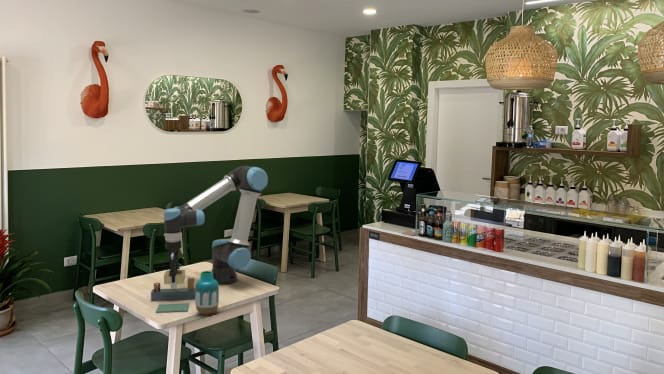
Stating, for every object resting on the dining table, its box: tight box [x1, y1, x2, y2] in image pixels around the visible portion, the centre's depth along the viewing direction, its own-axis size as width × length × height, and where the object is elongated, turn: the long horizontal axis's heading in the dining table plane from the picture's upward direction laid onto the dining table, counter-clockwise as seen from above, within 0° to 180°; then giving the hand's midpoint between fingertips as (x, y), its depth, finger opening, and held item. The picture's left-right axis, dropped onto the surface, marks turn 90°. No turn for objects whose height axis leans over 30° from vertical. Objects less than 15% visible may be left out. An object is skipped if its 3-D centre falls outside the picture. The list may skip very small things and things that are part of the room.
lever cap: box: [163, 269, 186, 286], centre depth 259 cm, size 9×8×5 cm
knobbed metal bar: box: [150, 277, 195, 302], centre depth 260 cm, size 21×5×10 cm, turn 100°
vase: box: [194, 270, 220, 315], centre depth 241 cm, size 11×11×19 cm
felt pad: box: [155, 302, 190, 314], centre depth 247 cm, size 14×10×1 cm
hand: (175, 285), depth 260 cm, fingers closed on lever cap, 8 cm apart
